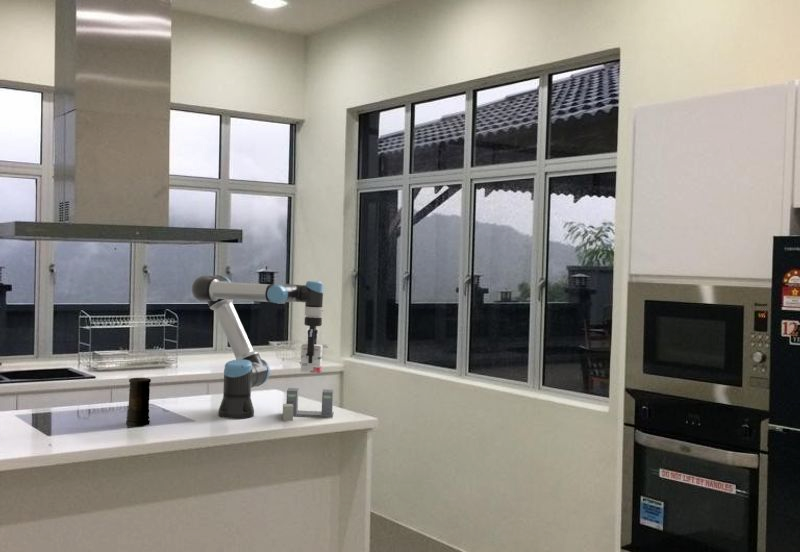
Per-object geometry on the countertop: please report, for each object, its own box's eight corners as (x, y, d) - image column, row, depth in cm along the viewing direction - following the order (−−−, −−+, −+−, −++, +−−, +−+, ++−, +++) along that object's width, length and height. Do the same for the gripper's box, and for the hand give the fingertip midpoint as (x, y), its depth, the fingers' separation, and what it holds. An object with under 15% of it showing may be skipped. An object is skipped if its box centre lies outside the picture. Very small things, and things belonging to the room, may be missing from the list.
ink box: (322, 371, 349) (323, 344, 348) (319, 373, 344) (320, 345, 343) (302, 370, 350) (304, 343, 349) (300, 371, 345) (301, 344, 344)
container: (125, 421, 320) (127, 377, 320) (149, 421, 323) (150, 377, 323) (126, 426, 312) (128, 381, 311) (150, 425, 315) (152, 380, 314)
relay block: (283, 420, 337) (284, 406, 337) (282, 417, 343) (283, 403, 343) (292, 420, 338) (293, 406, 338) (291, 417, 344) (292, 403, 344)
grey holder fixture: (284, 415, 347) (285, 390, 346) (286, 412, 355) (287, 387, 354) (332, 417, 347) (333, 392, 347) (333, 414, 355) (334, 389, 355)
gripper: (319, 318, 337) (317, 373, 337) (324, 315, 355) (321, 367, 356) (302, 317, 337) (299, 372, 337) (307, 314, 355) (305, 366, 356)
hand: (310, 369), depth 346 cm, fingers closed on ink box, 5 cm apart
